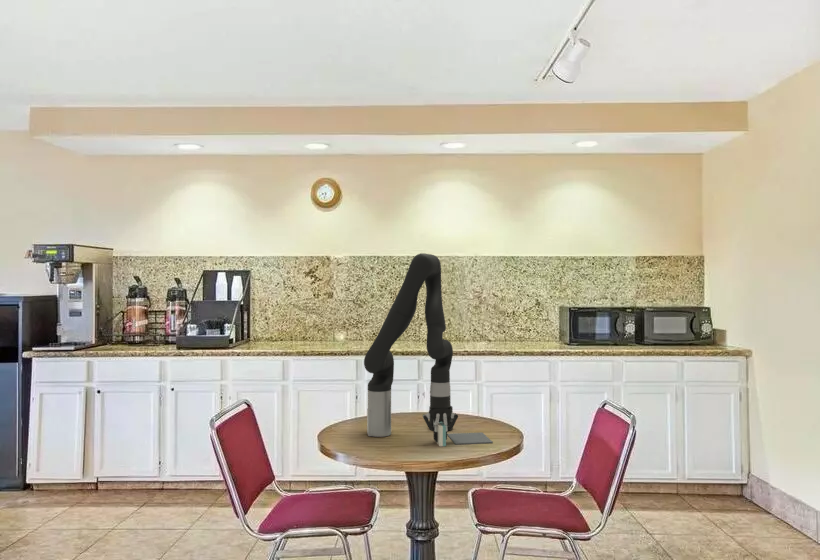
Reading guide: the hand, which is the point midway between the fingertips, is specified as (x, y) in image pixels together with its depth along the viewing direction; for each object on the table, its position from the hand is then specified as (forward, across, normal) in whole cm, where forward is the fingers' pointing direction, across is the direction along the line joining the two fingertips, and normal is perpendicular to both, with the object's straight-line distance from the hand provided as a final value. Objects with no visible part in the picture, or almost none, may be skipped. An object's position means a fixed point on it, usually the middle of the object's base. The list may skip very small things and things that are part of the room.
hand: (440, 441), depth 203 cm
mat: (+1, +12, +4) cm, 13 cm away
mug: (+1, +4, +22) cm, 22 cm away
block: (+1, 0, 0) cm, 1 cm away
